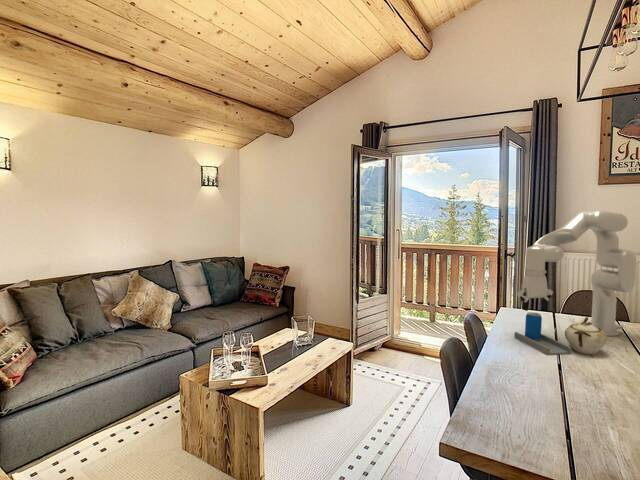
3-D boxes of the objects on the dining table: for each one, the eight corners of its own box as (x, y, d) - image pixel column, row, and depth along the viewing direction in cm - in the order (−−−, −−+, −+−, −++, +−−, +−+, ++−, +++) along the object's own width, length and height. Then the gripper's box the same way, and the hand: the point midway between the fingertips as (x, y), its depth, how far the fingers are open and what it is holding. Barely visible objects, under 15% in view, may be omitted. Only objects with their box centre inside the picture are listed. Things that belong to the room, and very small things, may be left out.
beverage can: (543, 341, 171) (544, 315, 170) (529, 341, 171) (530, 315, 171) (535, 336, 178) (537, 312, 177) (522, 336, 178) (523, 311, 177)
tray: (535, 336, 180) (535, 331, 180) (571, 353, 158) (571, 347, 158) (514, 337, 179) (514, 332, 179) (547, 355, 157) (547, 348, 157)
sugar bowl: (600, 361, 150) (603, 325, 149) (558, 351, 161) (559, 317, 160) (610, 349, 163) (612, 316, 162) (570, 341, 174) (571, 309, 173)
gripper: (546, 271, 177) (546, 306, 178) (512, 272, 175) (512, 308, 176) (558, 273, 169) (557, 310, 171) (523, 275, 168) (522, 312, 169)
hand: (534, 309), depth 174 cm, fingers open, 9 cm apart
